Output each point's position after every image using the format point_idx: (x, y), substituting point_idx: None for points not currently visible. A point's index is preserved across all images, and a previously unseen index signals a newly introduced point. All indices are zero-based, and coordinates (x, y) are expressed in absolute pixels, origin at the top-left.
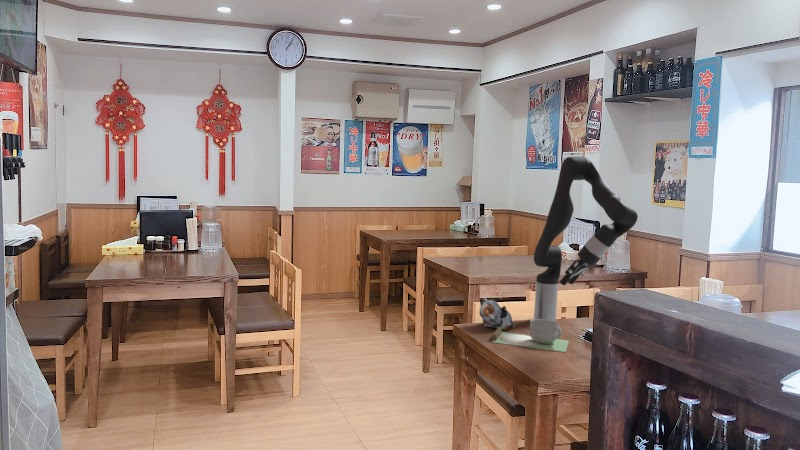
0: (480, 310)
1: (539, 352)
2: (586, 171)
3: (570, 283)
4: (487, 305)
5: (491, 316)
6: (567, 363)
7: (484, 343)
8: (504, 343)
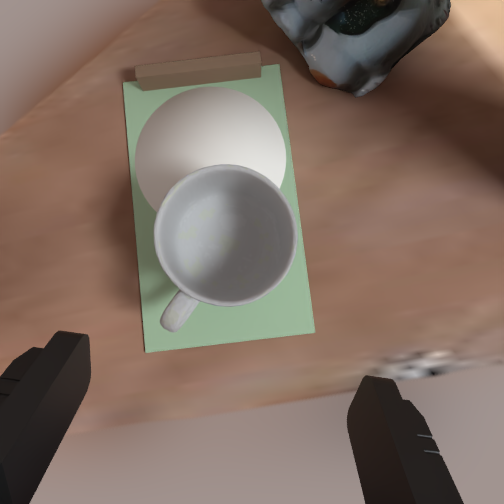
0: None
1: (92, 264)
2: None
3: (354, 407)
4: None
5: None
6: None
7: (97, 66)
8: (128, 126)
